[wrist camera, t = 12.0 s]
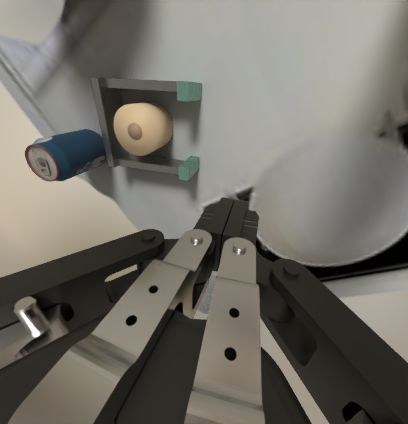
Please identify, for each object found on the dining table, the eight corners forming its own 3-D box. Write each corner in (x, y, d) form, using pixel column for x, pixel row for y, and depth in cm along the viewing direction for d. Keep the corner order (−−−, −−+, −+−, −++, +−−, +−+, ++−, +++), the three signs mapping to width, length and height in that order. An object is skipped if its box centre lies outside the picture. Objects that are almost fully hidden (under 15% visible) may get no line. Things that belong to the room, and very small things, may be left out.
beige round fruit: (170, 101, 33) (152, 103, 28) (175, 147, 37) (160, 156, 32) (131, 102, 35) (107, 104, 30) (139, 147, 39) (119, 155, 34)
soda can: (78, 125, 40) (14, 136, 30) (109, 131, 39) (53, 145, 29) (85, 159, 44) (30, 179, 34) (113, 166, 43) (65, 189, 33)
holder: (201, 83, 31) (188, 81, 26) (199, 169, 38) (187, 180, 33) (112, 79, 34) (85, 76, 29) (124, 158, 41) (104, 168, 36)
